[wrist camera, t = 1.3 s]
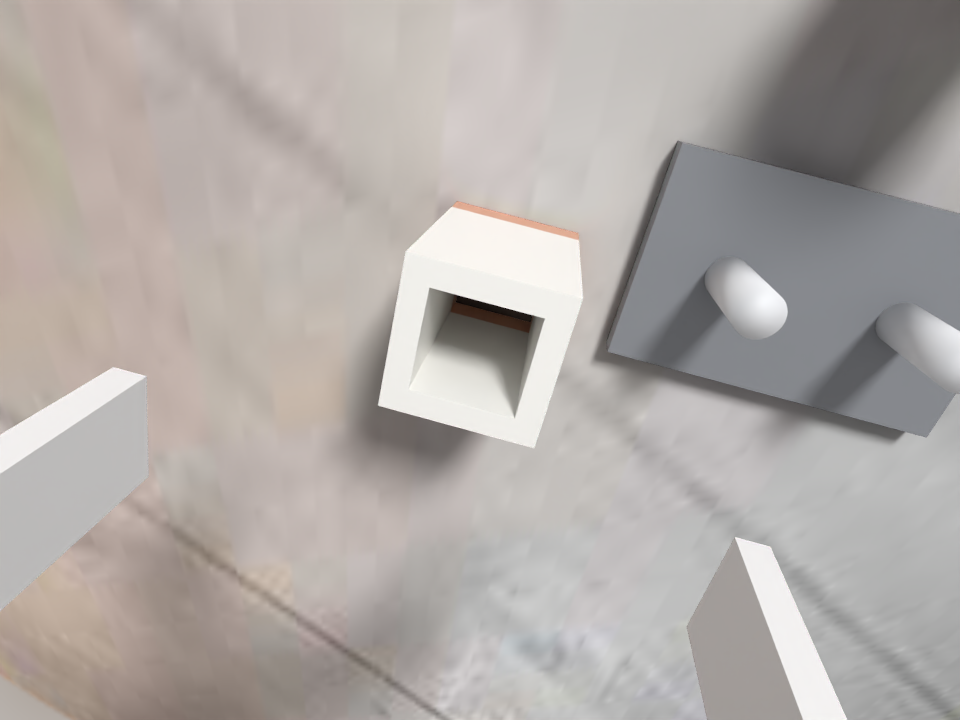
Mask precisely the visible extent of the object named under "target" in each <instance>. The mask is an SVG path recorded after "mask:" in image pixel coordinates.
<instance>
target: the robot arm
mask: <svg viewBox="0 0 960 720" xmlns="http://www.w3.org/2000/svg"><path fill="white" fill-rule="evenodd" d="M147 477H148V426H147V376H144V375H140V374H136V373H133V372H129V371H126V370H122V369H118V368H115V367H113V368H111V369H109V370H108V371H106V372H104V373H103V374H101V375H99V376H98V377H96V378H94V379H93V380H91V381H89V382H88V383H86V384H84V385H83V386H81V387H79V388H78V389H76V390H74V391H73V392H71V393H69V394H68V395H66V396H64V397H63V398H61V399H59V400H58V401H56V402H54V403H52V404H51V405H49V406H47V407H46V408H44V409H42V410H41V411H39V412H37V413H36V414H34V415H32V416H31V417H29V418H27V419H26V420H24V421H22V422H21V423H19V424H17V425H16V426H14V427H12V428H11V429H9V430H7V431H6V432H4V433H2V434H1V435H0V611H1V610H2V609H3V608H4V607H5V606H6V605H8V604H9V603H10V602H11V601H12V600H13V599H14V598H15V597H16V596H17V595H19V594H20V593H21V592H22V591H23V590H24V589H25V588H26V587H27V586H28V585H30V584H31V583H32V582H33V581H34V580H35V579H36V578H37V577H38V576H39V575H41V574H42V573H43V572H44V571H45V570H46V569H47V568H48V567H49V566H50V565H52V564H53V563H54V562H55V561H56V560H57V559H58V558H59V557H60V556H62V555H63V554H64V553H65V552H66V551H67V550H68V549H69V548H70V547H71V546H73V545H74V544H75V543H76V542H77V541H78V540H79V539H80V538H81V537H82V536H84V535H85V534H86V533H87V532H88V531H89V530H90V529H91V528H92V527H93V526H95V525H96V524H97V523H98V522H99V521H100V520H101V519H102V518H103V517H104V516H106V515H107V514H108V513H109V512H110V511H111V510H112V509H113V508H114V507H115V506H117V505H118V504H119V503H120V502H121V501H122V500H123V499H124V498H125V497H126V496H128V495H129V494H130V493H131V492H132V491H133V490H134V489H135V488H136V487H137V486H139V485H140V484H141V483H142V482H143V481H144V480H145V479H146V478H147ZM687 630H688V635H689V639H690V644H691V649H692V653H693V658H694V662H695V667H696V671H697V676H698V680H699V685H700V689H701V694H702V698H703V703H704V708H705V712H706V717H707V720H847V718H846V716H845V714H844V712H843V709H842V707H841V705H840V703H839V700H838V698H837V696H836V694H835V691H834V689H833V687H832V685H831V682H830V680H829V678H828V676H827V673H826V671H825V669H824V667H823V664H822V662H821V660H820V658H819V655H818V653H817V651H816V649H815V646H814V644H813V642H812V640H811V637H810V635H809V633H808V631H807V628H806V626H805V624H804V622H803V619H802V617H801V615H800V613H799V610H798V608H797V606H796V604H795V601H794V599H793V597H792V595H791V592H790V590H789V588H788V586H787V583H786V581H785V579H784V577H783V574H782V572H781V570H780V568H779V565H778V563H777V561H776V559H775V556H774V554H773V552H772V550H771V547H769V546H765V545H762V544H758V543H755V542H751V541H747V540H744V539H740V538H736V537H735V538H734V540H733V541H732V543H731V545H730V547H729V549H728V551H727V553H726V554H725V556H724V558H723V560H722V562H721V564H720V566H719V567H718V569H717V571H716V573H715V575H714V577H713V579H712V580H711V582H710V584H709V586H708V588H707V590H706V592H705V593H704V595H703V597H702V599H701V601H700V603H699V604H698V606H697V608H696V610H695V612H694V614H693V616H692V617H691V619H690V621H689V623H688V625H687Z"/></svg>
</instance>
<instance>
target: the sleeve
mask: <svg viewBox="0 0 960 720" xmlns="http://www.w3.org/2000/svg"><path fill="white" fill-rule="evenodd" d="M457 295H459V296H463V297H466V298H470V299H474V300H478V301H481V302H485V303H489V304H492V305H496V306H500V307H504V308H507V309H511V310H515V311H519V312H522V313H526V314H530V315H533V316H532V319H531V322H528V321H524V320H520V319H516V318H513V317H509V316H505V315H502V314H498V313H494V312H490V311H487V310H483V309H479V308H475V307H472V306H468V305H464V304H460V303H457V302H456V299H457ZM582 300H583V292H582V278H581V264H580V250H579V236H578V233H576V232H572V231H568V230H564V229H560V228H557V227H553V226H549V225H545V224H541V223H538V222H534V221H530V220H526V219H522V218H519V217H515V216H511V215H507V214H503V213H500V212H496V211H492V210H488V209H484V208H481V207H477V206H473V205H469V204H465V203H462V202H458V201H457V202H456V203H455V204H454V205H453V206H452V207H451V208H450V209H449V210H448V211H447V212H446V213H445V214H444V215H443V216H442V217H441V218H440V219H439V220H438V221H436V222H435V223H434V224H433V225H432V226H431V227H430V228H429V229H428V230H427V231H426V232H425V233H424V234H423V235H422V236H421V237H420V238H419V239H418V240H417V241H416V242H415V243H414V244H413V245H412V246H411V247H410V248H409V249H408V250H407V251H406V253H405V258H404V264H403V269H402V275H401V280H400V286H399V291H398V297H397V303H396V308H395V314H394V319H393V325H392V330H391V336H390V341H389V347H388V352H387V358H386V364H385V369H384V375H383V380H382V386H381V391H380V397H379V402H378V406H381V407H385V408H388V409H392V410H396V411H399V412H403V413H407V414H410V415H414V416H418V417H421V418H425V419H429V420H432V421H436V422H440V423H443V424H447V425H451V426H454V427H458V428H462V429H465V430H469V431H472V432H476V433H480V434H483V435H487V436H491V437H494V438H498V439H502V440H505V441H509V442H513V443H516V444H520V445H524V446H527V447H531V448H535V445H536V442H537V439H538V435H539V432H540V429H541V426H542V423H543V420H544V417H545V414H546V411H547V408H548V405H549V402H550V399H551V396H552V392H553V389H554V386H555V383H556V380H557V377H558V374H559V371H560V368H561V365H562V362H563V359H564V356H565V352H566V349H567V346H568V343H569V340H570V337H571V334H572V331H573V328H574V325H575V322H576V319H577V316H578V313H579V309H580V306H581V303H582Z"/></svg>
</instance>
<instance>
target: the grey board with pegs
mask: <svg viewBox="0 0 960 720" xmlns="http://www.w3.org/2000/svg"><path fill="white" fill-rule="evenodd" d="M606 345H607V351H608V352H610V353H614V354H618V355H621V356H625V357H629V358H632V359H636V360H640V361H644V362H647V363H651V364H655V365H658V366H662V367H666V368H670V369H673V370H677V371H681V372H685V373H688V374H692V375H696V376H699V377H703V378H707V379H711V380H714V381H718V382H722V383H726V384H729V385H733V386H737V387H740V388H744V389H748V390H752V391H755V392H759V393H763V394H766V395H770V396H774V397H778V398H781V399H785V400H789V401H793V402H796V403H800V404H804V405H807V406H811V407H815V408H819V409H822V410H826V411H830V412H833V413H837V414H841V415H845V416H848V417H852V418H856V419H860V420H863V421H867V422H871V423H874V424H878V425H882V426H886V427H889V428H893V429H897V430H901V431H904V432H908V433H912V434H915V435H919V436H923V437H927V436H928V435H929V433H930V432H931V430H932V429H933V427H934V426H935V424H936V423H937V421H938V420H939V418H940V417H941V415H942V414H943V412H944V411H945V409H946V408H947V406H948V405H949V403H950V402H951V400H952V399H953V397H954V396H955V394H960V214H959V213H955V212H952V211H948V210H944V209H940V208H936V207H932V206H928V205H924V204H921V203H917V202H913V201H909V200H905V199H901V198H897V197H893V196H890V195H886V194H882V193H878V192H874V191H870V190H866V189H862V188H859V187H855V186H851V185H847V184H843V183H839V182H835V181H831V180H828V179H824V178H820V177H816V176H812V175H808V174H804V173H801V172H797V171H793V170H789V169H785V168H781V167H777V166H773V165H770V164H766V163H762V162H758V161H754V160H750V159H746V158H742V157H739V156H735V155H731V154H727V153H723V152H719V151H715V150H711V149H708V148H704V147H700V146H696V145H692V144H688V143H684V142H680V141H678V142H677V145H676V148H675V151H674V153H673V156H672V159H671V162H670V165H669V167H668V170H667V173H666V176H665V179H664V182H663V184H662V187H661V190H660V193H659V196H658V198H657V201H656V204H655V207H654V210H653V212H652V215H651V218H650V221H649V224H648V227H647V229H646V232H645V235H644V238H643V241H642V243H641V246H640V249H639V252H638V255H637V257H636V260H635V263H634V266H633V269H632V271H631V274H630V277H629V280H628V283H627V286H626V288H625V291H624V294H623V297H622V300H621V302H620V305H619V308H618V311H617V314H616V316H615V319H614V322H613V325H612V328H611V331H610V333H609V336H608V339H607V342H606Z"/></svg>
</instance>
